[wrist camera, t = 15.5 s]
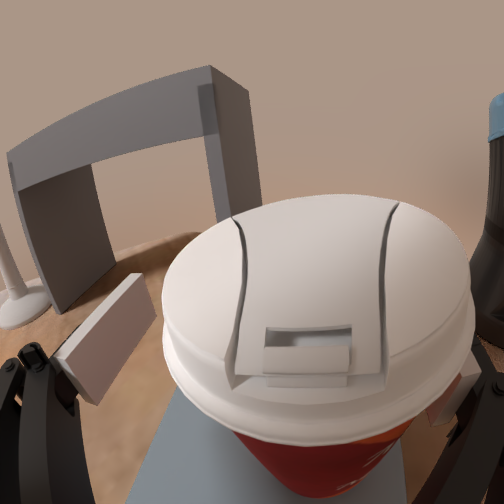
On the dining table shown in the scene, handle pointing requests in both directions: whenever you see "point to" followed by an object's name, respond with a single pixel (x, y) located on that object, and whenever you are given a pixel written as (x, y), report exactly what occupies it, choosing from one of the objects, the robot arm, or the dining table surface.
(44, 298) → the candlestick
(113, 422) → the dining table surface
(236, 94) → the shelf riser
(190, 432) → the mat
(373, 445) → the paper cup
